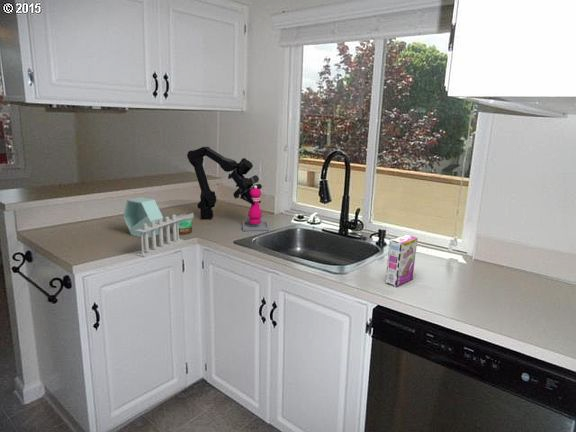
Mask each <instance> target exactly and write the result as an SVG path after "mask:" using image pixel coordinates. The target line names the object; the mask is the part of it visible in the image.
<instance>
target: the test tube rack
mask: <svg viewBox="0 0 576 432" xmlns="http://www.w3.org/2000/svg"><path fill="white" fill-rule="evenodd" d="M171 215H172V219H170V216H164V220H163V221H162V219H158V223H156V224H155V221H151V225H150V226H147V223H144V224H143V228H141V229H138V230H135V231H136V232H140V234H141V238H140V243H141V244H140V245H141V252H139V253H136V257H140V258H147V257H149V256H150V257H151V256H152V255H154V254H157V253H159V252H161V251H164V250H166V249H169V248H171V247H174V246H175V245H178V244H181V243H184V242H185V240H184V239H182V238H180V235H179V227H178V221H179V220H182V219H183V218H176V215H177V214H176V213H175V214H171ZM176 222H177V231H176ZM170 224H171V227H172V228H171V227H170ZM164 226H165V239H166V241H165V242H164V231H163V230H164V229H163V228H164ZM156 228H159V235H158V241H159V245H157V236H156V231H155V229H156ZM170 229H172V239H171V230H170ZM150 230H151V236H152V237H151V248H150V247H149V245H150V244H149V238H148V231H150ZM143 234H144V238H143Z"/></svg>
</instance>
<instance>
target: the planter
mask: <svg viewBox="0 0 576 432" xmlns="http://www.w3.org/2000/svg"><path fill="white" fill-rule="evenodd" d="M123 212H124V213H123V216H122V218H123V220H124V223H125V224H126V226H127V229H128V231H129V234H130V235H131V236H132V235H133V237H136V236H137V238H140V237H141V234H140V232H136V231H135V230H138V229H141V228H143V224H144V223H147V226H150V225H151V221H155V224H156V223H158V219H162V222H163V221H164V217H163V214H162V212H161V210H160V207H159V206H158V204H157V202H156V200H155V199H152V198H147V197H141V196H139V197H135V198H130V199H126V203H125V207H124V211H123ZM155 231H156V237H157V236H159V228H156V229H155ZM149 238H152V236H151V230H150V231H148V239H149ZM143 239H144V234H143Z"/></svg>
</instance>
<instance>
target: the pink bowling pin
mask: <svg viewBox="0 0 576 432" xmlns="http://www.w3.org/2000/svg"><path fill="white" fill-rule="evenodd" d="M254 185H255V184H254ZM254 185H253V186H254ZM250 196H251V198H252V199H253V201H254V203H255V204H254V205H252V204H251V203H250V204H251V205H250V208H249V210H248V213H247V217H248V221H249V223H250V224H260V223H261V221H262V219H261V218H262V216H263V213H262V210H261V208H260V203H259V201H261V196H262V191H261V189H258V188H257V186H256V185H255V186H254V188H253V189H251V190H250Z"/></svg>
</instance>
